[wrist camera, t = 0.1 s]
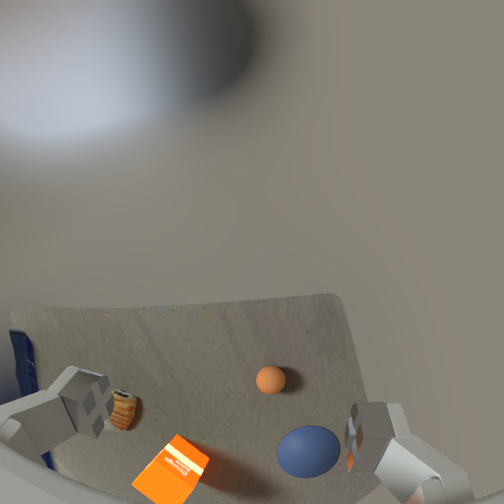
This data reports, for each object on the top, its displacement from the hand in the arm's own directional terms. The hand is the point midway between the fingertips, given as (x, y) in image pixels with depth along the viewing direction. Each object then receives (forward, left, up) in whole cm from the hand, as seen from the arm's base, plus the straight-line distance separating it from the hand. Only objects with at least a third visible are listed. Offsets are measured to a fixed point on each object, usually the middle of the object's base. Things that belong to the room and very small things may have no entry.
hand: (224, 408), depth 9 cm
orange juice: (-19, +29, -55) cm, 64 cm away
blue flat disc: (-28, +4, -54) cm, 61 cm away
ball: (-9, +4, -52) cm, 52 cm away
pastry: (-4, +37, -55) cm, 66 cm away
